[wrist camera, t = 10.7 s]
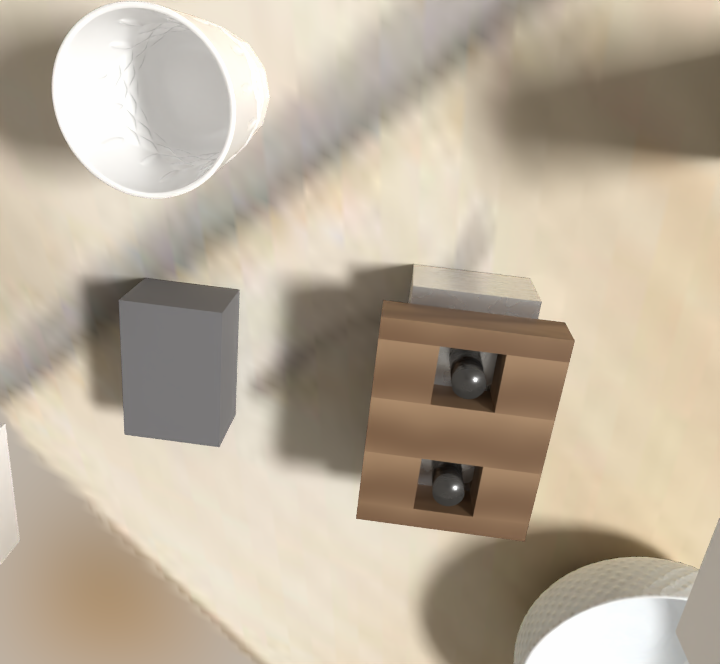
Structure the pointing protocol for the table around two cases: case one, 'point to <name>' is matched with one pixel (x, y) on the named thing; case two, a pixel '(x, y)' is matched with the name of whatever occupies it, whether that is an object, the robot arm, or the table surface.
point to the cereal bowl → (609, 615)
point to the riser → (179, 361)
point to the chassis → (462, 366)
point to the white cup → (156, 97)
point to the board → (461, 418)
